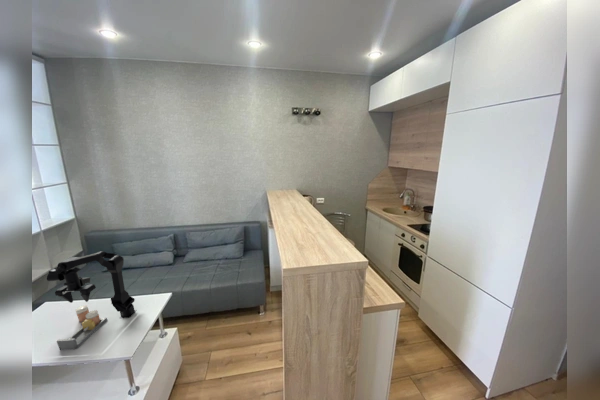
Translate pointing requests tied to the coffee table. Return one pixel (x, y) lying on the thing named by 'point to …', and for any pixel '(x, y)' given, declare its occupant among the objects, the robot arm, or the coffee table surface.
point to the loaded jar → (93, 317)
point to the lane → (78, 337)
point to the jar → (82, 312)
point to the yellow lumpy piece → (88, 325)
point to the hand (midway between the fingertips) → (79, 301)
